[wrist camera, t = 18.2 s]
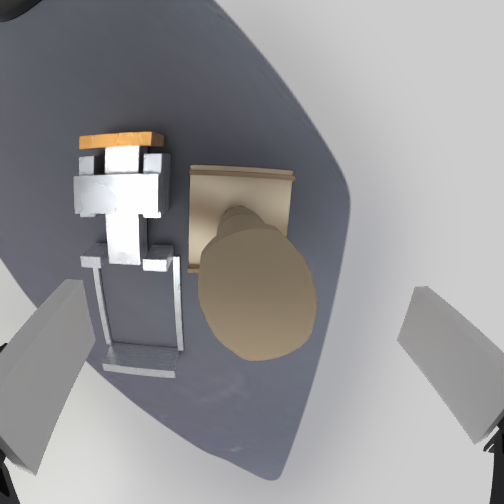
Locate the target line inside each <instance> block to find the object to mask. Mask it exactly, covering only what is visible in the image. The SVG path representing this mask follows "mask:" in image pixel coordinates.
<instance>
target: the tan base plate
mask: <svg viewBox="0 0 504 504" xmlns="http://www.w3.org/2000/svg"><path fill="white" fill-rule="evenodd" d="M189 175H190V204H189V266H188V273H199V266H200V257H201V252H202V250H203V249H204V248H205V246H206V245H207V244H208V243H209V242H210V241H211V240H212V239H213V238H214V237H215V236H216V233H217V228H218V224H219V222H220V220H221V218H222V216H223V214H224V212H225V211H226V210H227V209H233V208H236V207H238V206H239V205H242V206H245V207H246V208H248V209H250V210H252V211H254V212H255V213H256V214H257V215H258V216H260V218H261V219H262V220H263V221H264V223H265V224H269V225H273V226H275V227H276V228H277V229H278V230H279V231H280V232H281V233H282V234H283V235H284V236H285V237H287V228H288V218H289V208H290V198H291V187H292V181H295V176H293V171H290V170H279V169H266V168H252V167H235V166H213V165H191V170H189Z"/></svg>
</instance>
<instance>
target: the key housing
mask: <svg viewBox="0 0 504 504" xmlns="http://www.w3.org/2000/svg"><path fill="white" fill-rule="evenodd" d="M170 164H171V154H144V173H124V174H105V155H103V156H89V157H79V175H78V176H74V205H75V214H80V215H81V217H95V216H97V215H99V214H143V218H161V217H162V216H163V215H164V213H165V212H166V211H167V210H168V209H169V201H170Z"/></svg>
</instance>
